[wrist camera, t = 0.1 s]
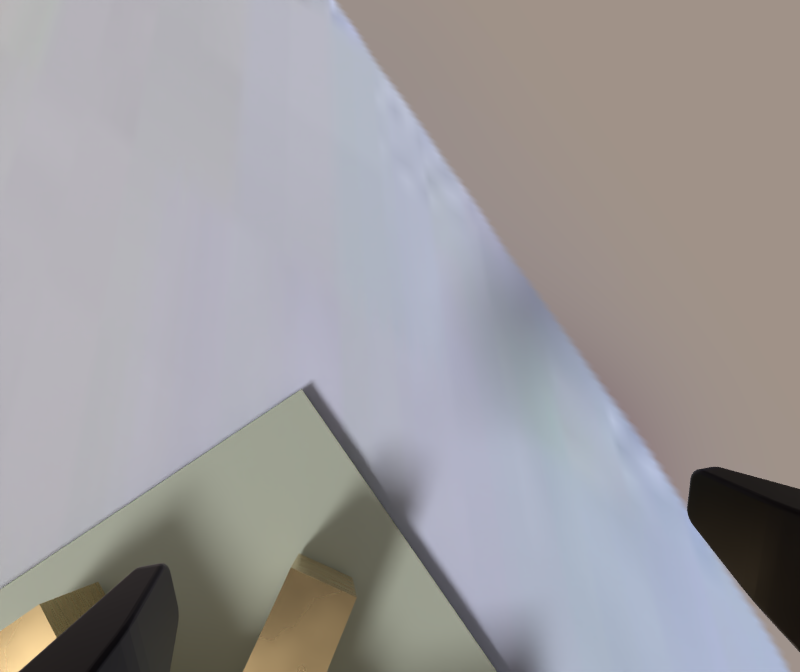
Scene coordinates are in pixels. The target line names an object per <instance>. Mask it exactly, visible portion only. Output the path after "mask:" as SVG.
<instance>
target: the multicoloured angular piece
mask: <svg viewBox="0 0 800 672" xmlns="http://www.w3.org/2000/svg"><path fill="white" fill-rule="evenodd" d="M104 596H105V593H104V591H103V589H102V587H101V586H100V584H99V582H96V583H93V584H91V585H88V586H85V587H83V588H80V589H78V590H75V591H72V592H70V593H67V594H65V595H62V596H59V597H57V598H54V599H52V600H49V601H46V602H44V603H41V604H39V605H37V606H36V607H34V608H33V609H32V610H30V611H29V612H27V613H26V614H24V615H23V616H21V617H20V618H19V619H17V620H16V621H14V622H13V623H11V624H10V625H8V626H7V627H5V628H4V629H3V630H1V631H0V672H19V671H20V670H21V669H22V668H23V667H24V666H25V665H27V664H28V663H29V662H30V661H31V660H32V659H33V658H34V657H36V656H37V655H38V654H39V653H40V652H41V651H42V650H44V649H45V648H46V647H47V646H48V645H49V644H50V643H52V642H53V641H54V640H55V639H56V638H57V637H58V636H59V635H61V634H62V633H63V632H64V631H65V630H66V629H67V628H69V627H70V626H71V625H72V624H73V623H74V622H75V621H76V620H78V619H79V618H80V617H81V616H82V615H83V614H84V613H86V612H87V611H88V610H89V609H90V608H91V607H92V606H93V605H95V604H96V603H97V602H98V601H99V600H100V599H101V598H103V597H104ZM356 598H357V596H356V591H355V587H354V582H353V578H352V577H350V576H348V575H346V574H343V573H341V572H339V571H337V570H335V569H333V568H330V567H328V566H326V565H324V564H322V563H319V562H317V561H315V560H313V559H311V558H309V557H306V556H304V555H302V554H300V553H299V554H298V556H297V557H296V559H295V561H294V563H293V564H292V566H291V568H290V570H289V572H288V575H287V577H286V579H285V581H284V583H283V585H282V588H281V590H280V592H279V594H278V596H277V599H276V601H275V603H274V605H273V607H272V609H271V612H270V614H269V616H268V618H267V620H266V622H265V625H264V627H263V629H262V631H261V633H260V636H259V638H258V640H257V642H256V644H255V646H254V649H253V651H252V653H251V655H250V657H249V660H248V662H247V664H246V666H245V668H244V670H243V672H327V670H328V668H329V665H330V663H331V660H332V658H333V655H334V653H335V650H336V648H337V645H338V643H339V640H340V638H341V636H342V633H343V631H344V628H345V626H346V623H347V621H348V618H349V616H350V613H351V611H352V608H353V606H354V603H355V601H356Z"/></svg>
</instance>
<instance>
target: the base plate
mask: <svg viewBox="0 0 800 672" xmlns="http://www.w3.org/2000/svg"><path fill="white" fill-rule="evenodd" d="M299 553H300V554H302V555H304V556H306V557H309V558H311V559H313V560H315V561H317V562H319V563H322V564H324V565H326V566H328V567H330V568H333V569H335V570H337V571H339V572H341V573H343V574H346V575H348V576H350V577H352V578H353V582H354V587H355V591H356V596H357V598H356V601H355V603H354V606H353V608H352V611H351V613H350V616H349V618H348V621H347V623H346V626H345V628H344V631H343V633H342V636H341V638H340V640H339V643H338V645H337V648H336V650H335V653H334V655H333V658H332V660H331V663H330V665H329V668H328V670H327V672H497V671H496V670H495V668H494V667H493V665H492V664H491V662H490V661H489V660H488V658H487V657H486V655H485V654H484V652H483V651H482V649H481V648H480V647H479V645H478V644H477V642H476V641H475V639H474V638H473V636H472V635H471V633H470V632H469V631H468V629H467V628H466V626H465V625H464V623H463V622H462V620H461V619H460V618H459V616H458V615H457V613H456V612H455V610H454V609H453V607H452V606H451V605H450V603H449V602H448V600H447V599H446V597H445V596H444V594H443V593H442V592H441V590H440V589H439V587H438V586H437V584H436V583H435V581H434V580H433V579H432V577H431V576H430V574H429V573H428V571H427V570H426V568H425V567H424V566H423V564H422V563H421V561H420V560H419V558H418V557H417V555H416V554H415V552H414V551H413V550H412V548H411V547H410V545H409V544H408V542H407V541H406V539H405V538H404V537H403V535H402V534H401V532H400V531H399V529H398V528H397V526H396V525H395V524H394V522H393V521H392V519H391V518H390V516H389V515H388V513H387V512H386V511H385V509H384V508H383V506H382V505H381V503H380V502H379V500H378V499H377V498H376V496H375V495H374V493H373V492H372V490H371V489H370V487H369V486H368V484H367V483H366V482H365V480H364V479H363V477H362V476H361V474H360V473H359V471H358V470H357V469H356V467H355V466H354V464H353V463H352V461H351V460H350V458H349V457H348V456H347V454H346V453H345V451H344V450H343V448H342V447H341V445H340V444H339V443H338V441H337V440H336V438H335V437H334V435H333V434H332V432H331V431H330V430H329V428H328V427H327V425H326V424H325V422H324V421H323V419H322V418H321V416H320V415H319V414H318V412H317V411H316V409H315V408H314V406H313V405H312V403H311V402H310V401H309V399H308V398H307V396H306V395H305V393H304V392H303V390H302V389H301V390H300V391H298V392H297V393H295V394H294V395H292V396H290V397H289V398H287V399H286V400H284V401H283V402H281V403H280V404H278V405H277V406H275V407H274V408H272V409H271V410H269V411H268V412H266V413H265V414H263V415H262V416H260V417H259V418H257V419H256V420H254V421H253V422H251V423H250V424H248V425H247V426H245V427H244V428H242V429H241V430H239V431H238V432H236V433H235V434H233V435H232V436H230V437H229V438H227V439H226V440H224V441H223V442H221V443H220V444H218V445H217V446H215V447H214V448H212V449H211V450H209V451H208V452H206V453H205V454H203V455H202V456H200V457H199V458H197V459H196V460H194V461H193V462H191V463H190V464H188V465H187V466H185V467H184V468H182V469H181V470H179V471H178V472H176V473H175V474H173V475H172V476H170V477H169V478H167V479H166V480H164V481H163V482H161V483H160V484H158V485H157V486H155V487H154V488H152V489H151V490H149V491H148V492H146V493H145V494H143V495H142V496H140V497H139V498H137V499H136V500H134V501H133V502H131V503H130V504H128V505H127V506H125V507H124V508H122V509H121V510H119V511H118V512H116V513H115V514H113V515H112V516H110V517H109V518H107V519H106V520H104V521H103V522H101V523H100V524H98V525H97V526H95V527H94V528H92V529H91V530H89V531H88V532H86V533H85V534H83V535H82V536H80V537H79V538H77V539H76V540H74V541H73V542H71V543H70V544H68V545H67V546H65V547H63V548H62V549H60V550H59V551H57V552H56V553H54V554H53V555H51V556H50V557H48V558H47V559H45V560H44V561H42V562H41V563H39V564H38V565H36V566H35V567H33V568H32V569H30V570H29V571H27V572H26V573H24V574H23V575H21V576H20V577H18V578H17V579H15V580H14V581H12V582H11V583H9V584H8V585H6V586H5V587H3V588H2V589H0V631H1V630H3V629H4V628H5V627H7V626H8V625H10V624H11V623H13V622H14V621H16V620H17V619H19V618H20V617H21V616H23V615H24V614H26V613H27V612H29V611H30V610H32V609H33V608H34V607H36V606H37V605H39V604H41V603H44V602H46V601H49V600H52V599H54V598H57V597H59V596H62V595H65V594H67V593H70V592H72V591H75V590H78V589H80V588H83V587H85V586H88V585H91V584H93V583H96V582H99V584H100V586H101V587H102V589H103V591H104V593H105V595H106V594H107V593H108V592H109V591H110V590H112V589H113V588H114V587H115V586H116V585H117V584H118V583H120V582H121V581H122V580H123V579H124V578H125V577H126V576H127V575H129V574H130V573H131V572H132V571H133V570H135V569H136V568H138V567H141V566H147V565H153V564H159V563H165V564H166V565H168V567H169V569H170V572H171V576H172V581H173V585H174V590H175V594H176V599H177V603H178V609H179V621H178V628H177V634H176V640H175V646H174V651H173V657H172V663H171V669H170V672H243V670H244V668H245V666H246V664H247V662H248V660H249V657H250V655H251V653H252V651H253V649H254V646H255V644H256V642H257V640H258V638H259V636H260V633H261V631H262V629H263V627H264V625H265V622H266V620H267V618H268V616H269V614H270V612H271V609H272V607H273V605H274V603H275V601H276V599H277V596H278V594H279V592H280V590H281V588H282V585H283V583H284V581H285V579H286V577H287V575H288V572H289V570H290V568H291V566H292V564H293V563H294V561H295V559H296V557H297V556H298V554H299Z"/></svg>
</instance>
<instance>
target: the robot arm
mask: <svg viewBox="0 0 800 672" xmlns="http://www.w3.org/2000/svg"><path fill="white" fill-rule="evenodd" d="M687 512H688V516H689V519H690V521H691V523H692V524H693V526H694V527H695V528H696V529H697V531H698V532H699V533H700V534H701V536H702V537H703V538H704V540H705V541H706V542H707V543H708V545H709V546H710V547H711V548H712V550H713V551H714V552H715V554H716V555H717V556H718V557H719V559H720V560H721V561H722V562H723V564H724V565H725V566H726V568H727V569H728V570H729V571H730V573H731V574H732V575H733V576H734V578H735V579H736V580H737V582H738V583H739V584H740V585H741V587H742V588H743V589H744V590H745V592H746V593H747V594H748V595H749V596H750V598H751V599H752V600H753V601H754V602H755V604H756V605H757V606H758V607H759V608H760V609H761V610H762V611H763V613H764V614H765V615H767V617H768V618H769V619H770V620H771V621H772V622H773V624H775V626H776V627H777V628H778V629H779V630H780V631H781V632H782V633H783V634H784V636H786V638H787V639H788V640H789V641H790V642H791V643H792V644H793V645H794V646H795V648H796V649H797V650H798V651H799V652H800V489H797V488H794V487H790V486H787V485H783V484H779V483H776V482H771V481H768V480H765V479H761V478H757V477H754V476H750V475H746V474H742V473H739V472H735V471H731V470H728V469H724V468H721V467H709V468H704V469H699V470H696V471H694V472H693V474H692V476H691V480H690V488H689V497H688V505H687ZM178 621H179V609H178V603H177V599H176V594H175V590H174V585H173V581H172V576H171V572H170V569H169V567H168V565H166V564H165V563H159V564H153V565H147V566H141V567H138V568H136V569H135V570H133V571H132V572H131V573H130V574H129V575H127V576H126V577H125V578H124V579H123V580H122V581H121V582H120V583H118V584H117V585H116V586H115V587H114V588H113V589H112V590H110V591H109V592H108V593H107V594H106V595H105V596H104V597H103V598H101V599H100V600H99V601H98V602H97V603H96V604H95V605H93V606H92V607H91V608H90V609H89V610H88V611H87V612H86V613H84V614H83V615H82V616H81V617H80V618H79V619H78V620H76V621H75V622H74V623H73V624H72V625H71V626H70V627H69V628H67V629H66V630H65V631H64V632H63V633H62V634H61V635H59V636H58V637H57V638H56V639H55V640H54V641H53V642H52V643H50V644H49V645H48V646H47V647H46V648H45V649H44V650H42V651H41V652H40V653H39V654H38V655H37V656H36V657H34V658H33V659H32V660H31V661H30V662H29V663H28V664H27V665H25V666H24V667H23V668H22V669H21V670H20V671H19V672H170V669H171V663H172V657H173V651H174V646H175V640H176V634H177V628H178Z"/></svg>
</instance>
